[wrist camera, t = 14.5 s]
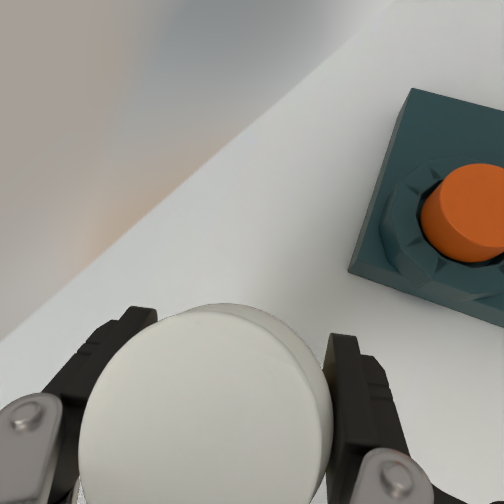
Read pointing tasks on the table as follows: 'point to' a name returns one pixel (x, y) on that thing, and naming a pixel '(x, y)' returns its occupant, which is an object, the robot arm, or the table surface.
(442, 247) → the button
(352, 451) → the robot arm
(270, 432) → the supplement bottle
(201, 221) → the table surface
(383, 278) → the teal button base
